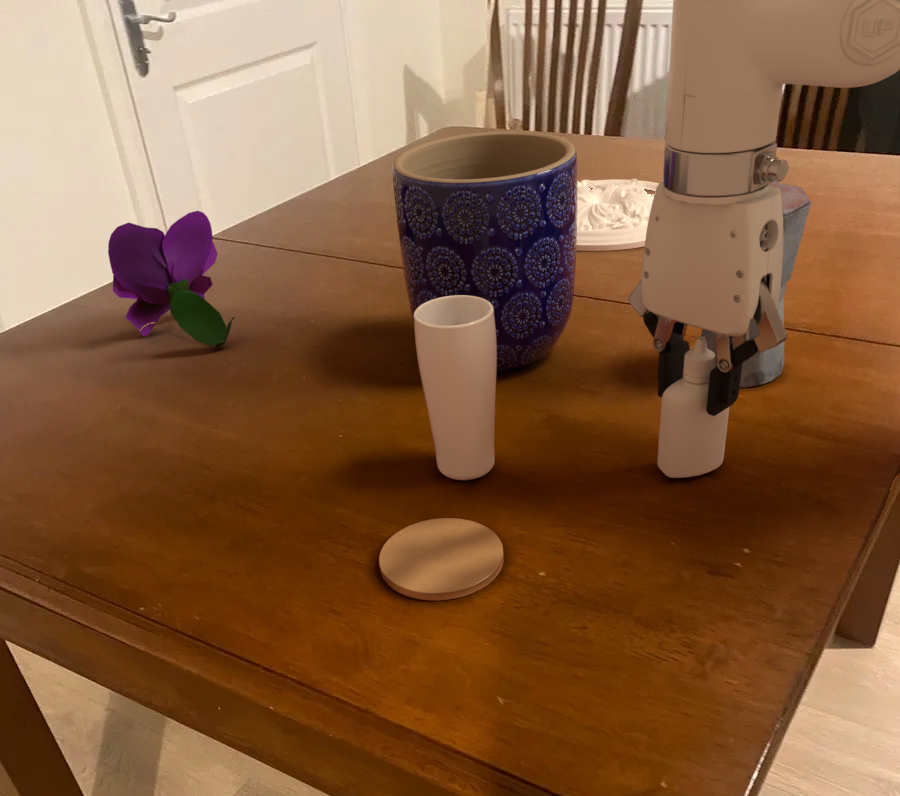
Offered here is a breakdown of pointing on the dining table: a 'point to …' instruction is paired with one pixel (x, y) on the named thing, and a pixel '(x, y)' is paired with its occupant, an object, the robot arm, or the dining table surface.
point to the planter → (493, 231)
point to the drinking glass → (459, 381)
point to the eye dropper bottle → (691, 420)
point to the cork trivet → (441, 559)
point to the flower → (168, 276)
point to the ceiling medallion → (613, 214)
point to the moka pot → (794, 220)
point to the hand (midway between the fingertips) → (696, 398)
